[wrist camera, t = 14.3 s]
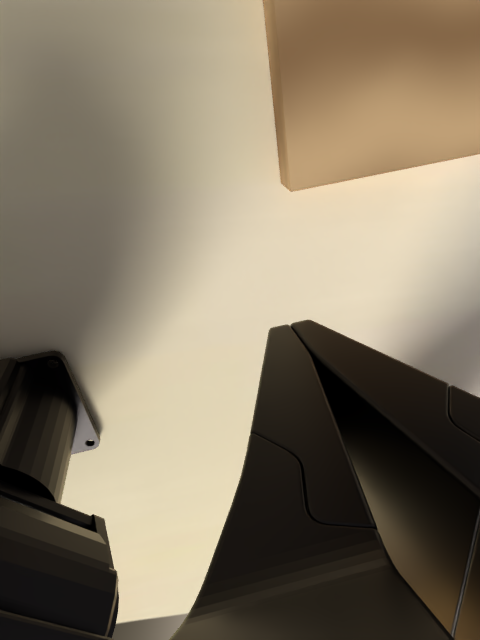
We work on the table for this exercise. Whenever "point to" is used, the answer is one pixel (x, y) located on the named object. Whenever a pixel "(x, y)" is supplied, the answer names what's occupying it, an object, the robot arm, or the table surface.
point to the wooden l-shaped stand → (372, 85)
